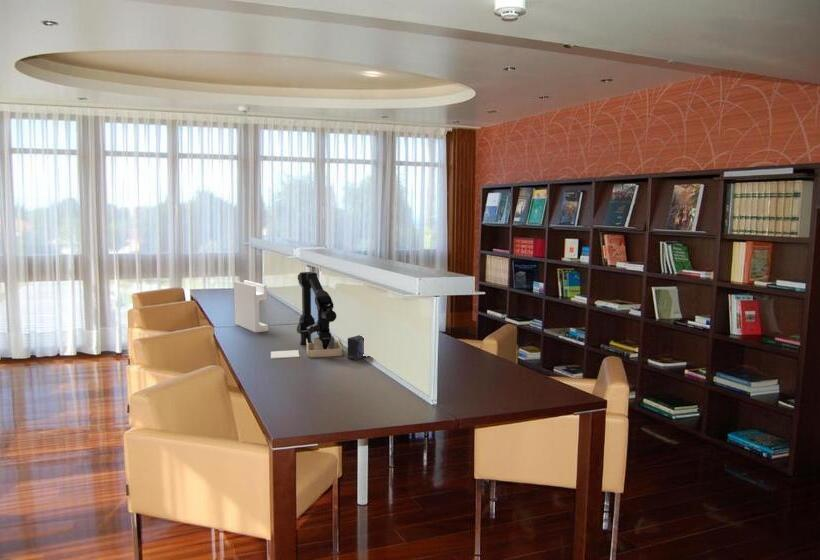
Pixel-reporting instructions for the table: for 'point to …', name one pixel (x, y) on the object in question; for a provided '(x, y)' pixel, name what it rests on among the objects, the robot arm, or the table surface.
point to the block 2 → (319, 345)
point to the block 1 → (249, 305)
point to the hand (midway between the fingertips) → (324, 348)
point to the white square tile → (284, 354)
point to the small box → (356, 347)
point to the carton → (325, 350)
